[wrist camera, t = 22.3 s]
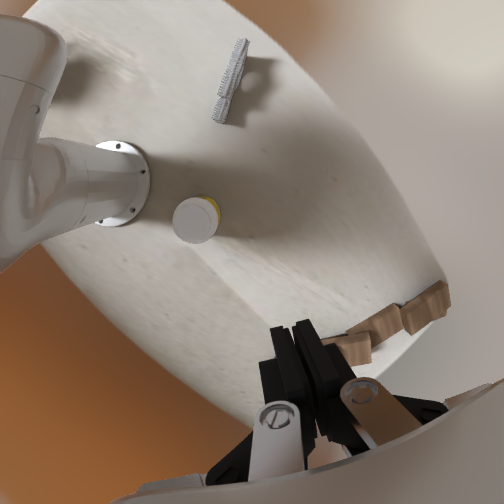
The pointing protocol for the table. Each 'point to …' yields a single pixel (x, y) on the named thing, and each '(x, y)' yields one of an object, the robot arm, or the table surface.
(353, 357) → the domino
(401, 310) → the domino
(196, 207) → the supplement bottle
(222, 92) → the garden wall model
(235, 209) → the table surface
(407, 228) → the table surface
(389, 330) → the domino
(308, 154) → the table surface
